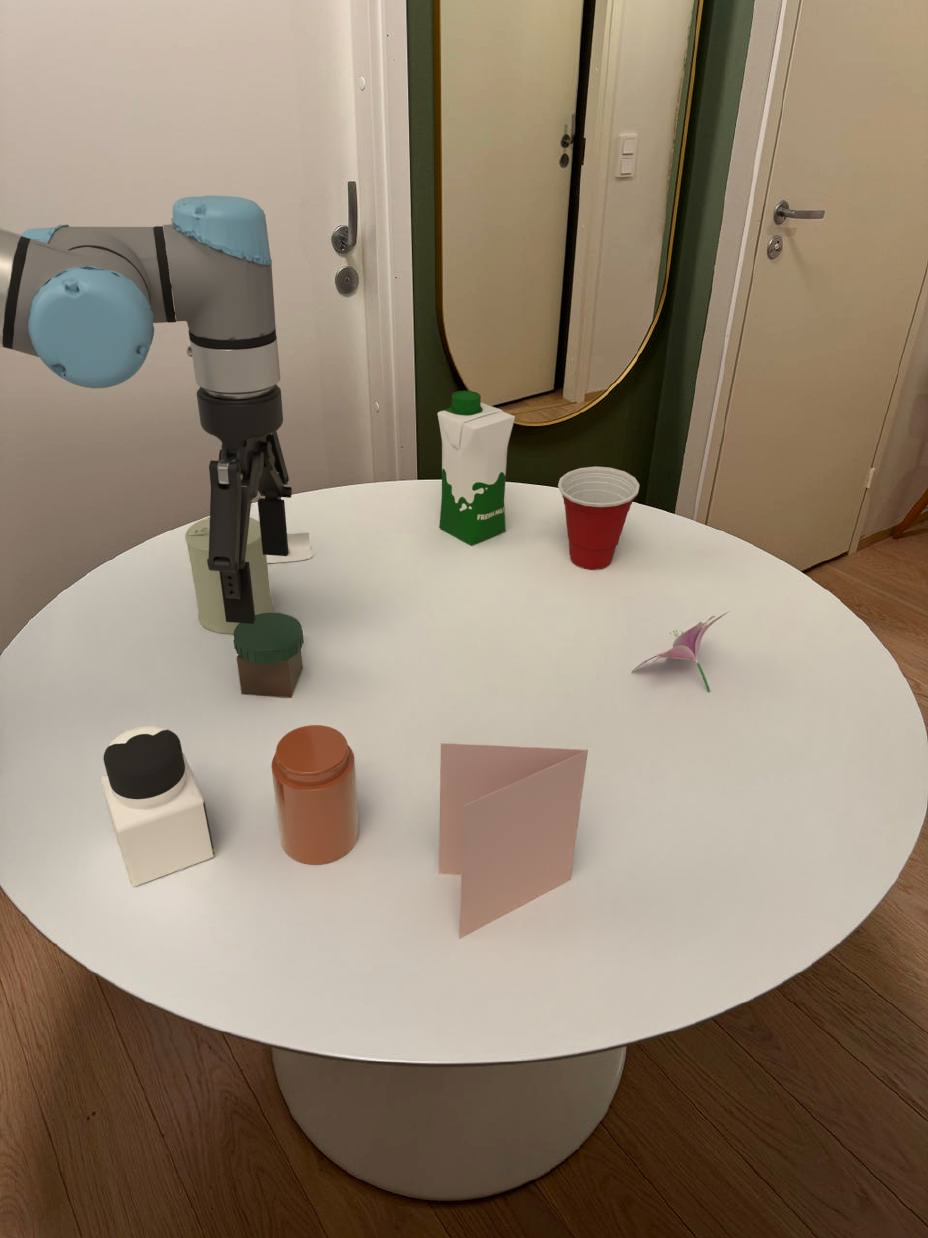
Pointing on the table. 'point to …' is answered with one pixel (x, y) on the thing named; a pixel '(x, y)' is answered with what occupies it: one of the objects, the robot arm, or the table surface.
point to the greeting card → (507, 824)
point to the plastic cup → (596, 512)
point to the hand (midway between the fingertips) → (259, 585)
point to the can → (209, 581)
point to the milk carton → (473, 467)
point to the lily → (687, 645)
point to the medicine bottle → (154, 804)
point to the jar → (315, 794)
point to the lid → (269, 638)
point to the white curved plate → (294, 549)
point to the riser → (270, 676)
